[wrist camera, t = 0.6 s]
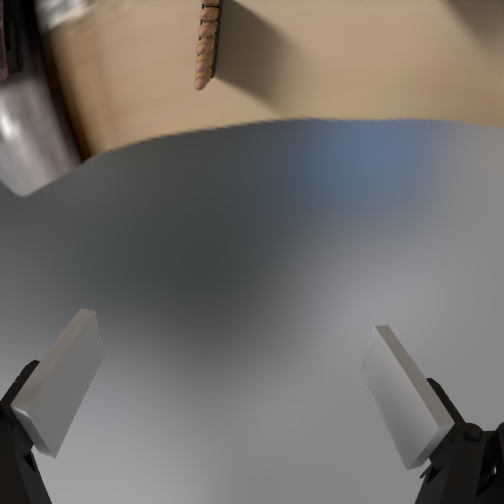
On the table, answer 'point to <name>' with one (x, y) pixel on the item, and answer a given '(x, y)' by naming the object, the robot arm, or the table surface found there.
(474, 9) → the table surface
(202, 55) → the ammunition clip
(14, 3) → the diary
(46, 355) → the robot arm
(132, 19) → the table surface
